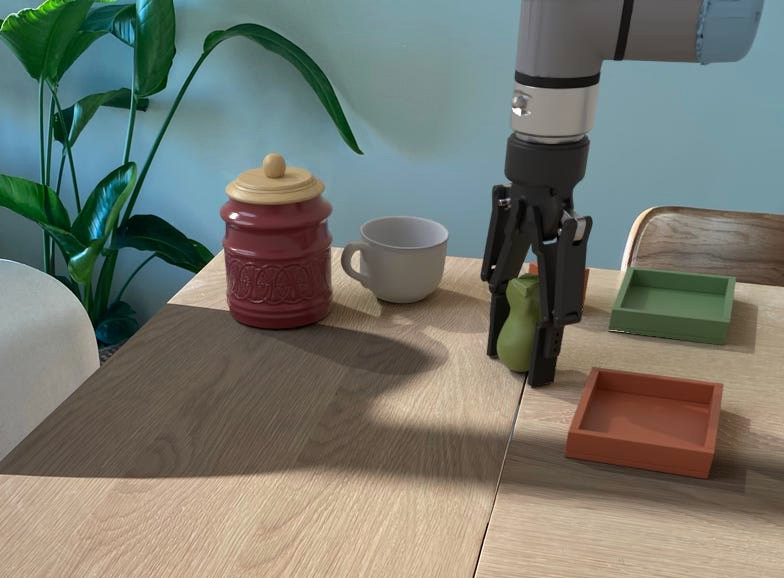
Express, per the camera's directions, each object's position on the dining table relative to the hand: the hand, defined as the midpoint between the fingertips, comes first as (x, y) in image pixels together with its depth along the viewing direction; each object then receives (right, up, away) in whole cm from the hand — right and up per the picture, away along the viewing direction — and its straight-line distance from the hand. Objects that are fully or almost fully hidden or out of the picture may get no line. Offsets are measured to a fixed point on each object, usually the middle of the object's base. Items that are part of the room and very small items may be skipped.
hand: (519, 367), depth 104 cm
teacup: (-12, +14, +17) cm, 25 cm away
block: (+7, +11, +13) cm, 19 cm away
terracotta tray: (+10, -9, -11) cm, 17 cm away
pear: (0, 0, 0) cm, 0 cm away
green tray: (+20, +9, +11) cm, 25 cm away
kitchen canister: (-26, +11, +15) cm, 32 cm away
